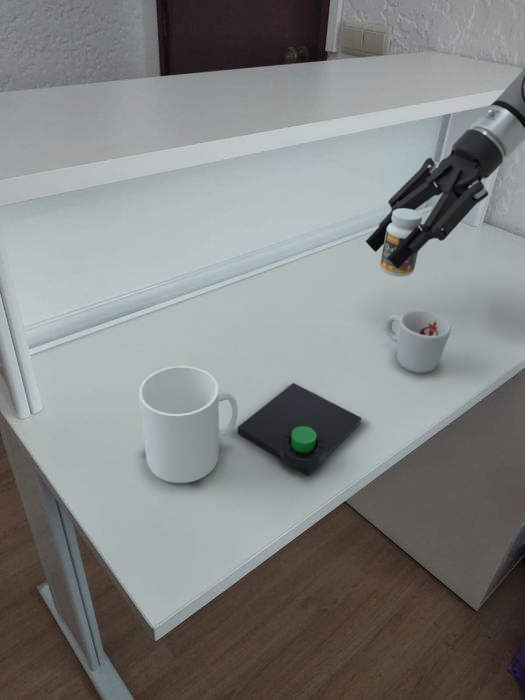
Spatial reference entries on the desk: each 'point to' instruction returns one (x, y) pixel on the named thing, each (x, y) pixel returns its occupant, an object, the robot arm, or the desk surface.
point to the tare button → (303, 439)
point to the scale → (294, 411)
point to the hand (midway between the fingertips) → (381, 254)
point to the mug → (182, 422)
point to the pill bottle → (400, 240)
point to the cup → (419, 339)
